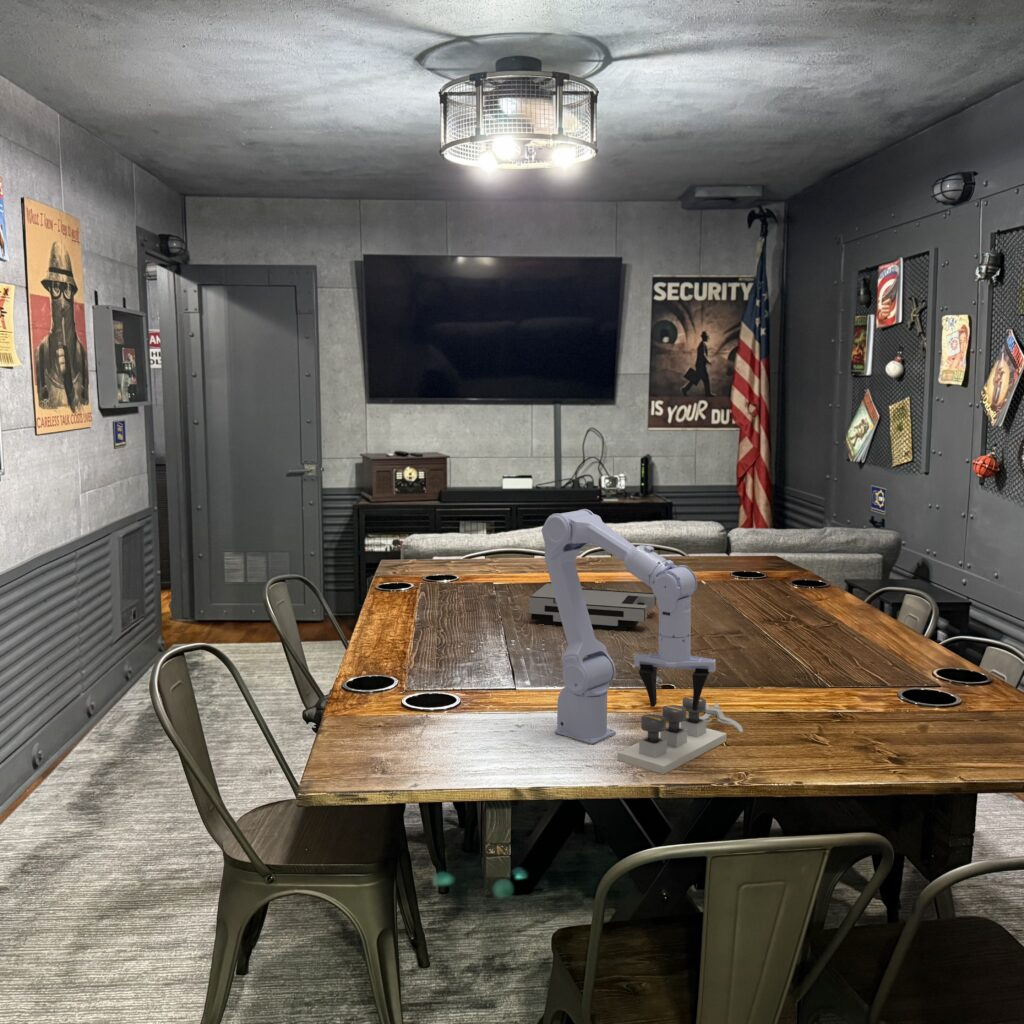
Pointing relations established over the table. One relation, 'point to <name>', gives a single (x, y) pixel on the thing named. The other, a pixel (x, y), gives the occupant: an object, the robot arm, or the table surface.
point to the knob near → (653, 726)
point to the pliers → (719, 717)
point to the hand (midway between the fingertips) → (674, 707)
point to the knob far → (689, 708)
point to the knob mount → (673, 747)
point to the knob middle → (674, 716)
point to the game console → (596, 607)
